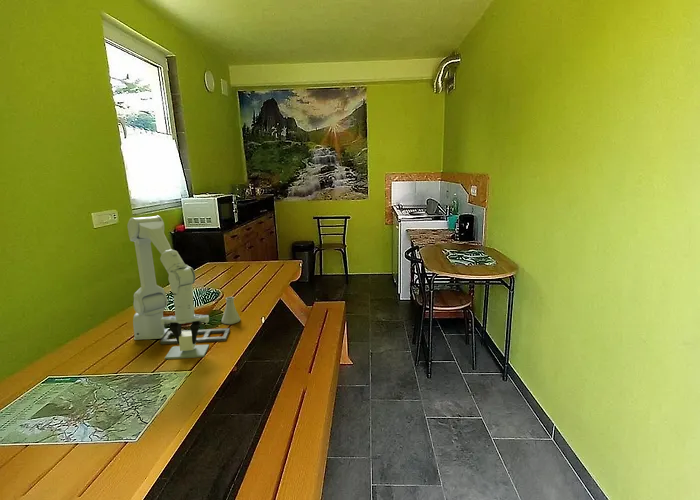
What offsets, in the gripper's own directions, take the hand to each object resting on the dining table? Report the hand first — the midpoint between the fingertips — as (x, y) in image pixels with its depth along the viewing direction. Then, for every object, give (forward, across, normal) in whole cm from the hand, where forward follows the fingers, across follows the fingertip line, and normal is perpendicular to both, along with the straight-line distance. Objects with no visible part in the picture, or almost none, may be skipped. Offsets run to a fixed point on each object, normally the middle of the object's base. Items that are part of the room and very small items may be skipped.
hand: (187, 343), depth 125 cm
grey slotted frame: (+3, 0, +12) cm, 12 cm away
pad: (+3, 0, 0) cm, 3 cm away
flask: (+4, +10, +26) cm, 28 cm away
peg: (+2, 0, 0) cm, 2 cm away
